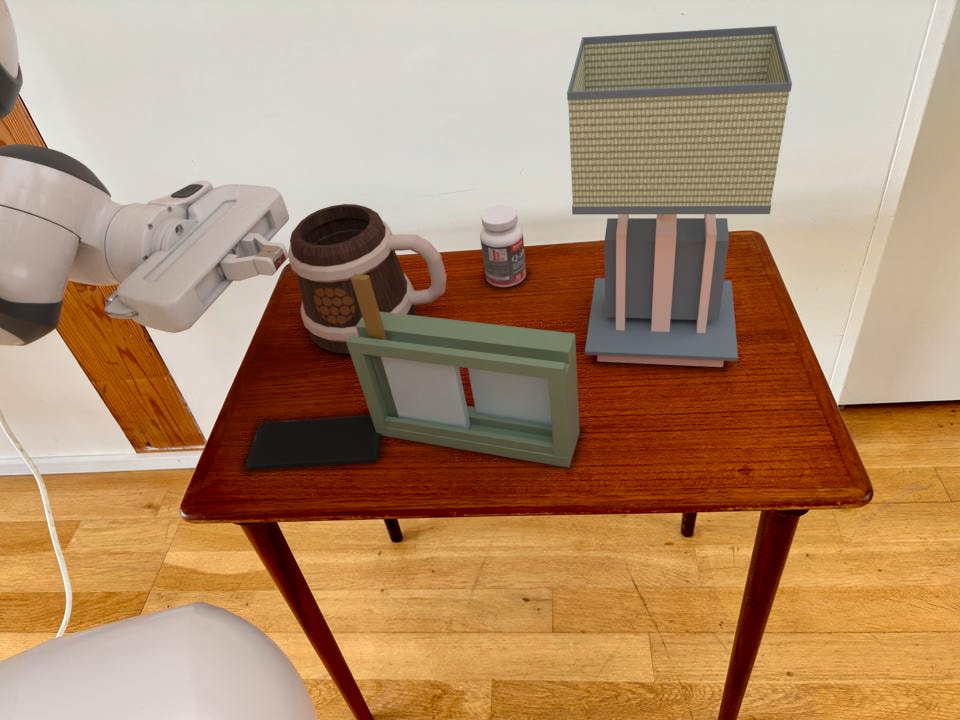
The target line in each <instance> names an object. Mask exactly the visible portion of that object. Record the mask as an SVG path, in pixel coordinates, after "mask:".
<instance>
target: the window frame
mask: <svg viewBox="0 0 960 720" xmlns="http://www.w3.org/2000/svg"><path fill="white" fill-rule="evenodd" d="M380 316H381V319H382V323H383V327H384V330H385V334H386V337H387V340H380V339H372V338H369V337H368V333H367V330H366V327H365V323H364V320H363V317H362V318H361V319H360V321H359V322H358V324H357V325H356V329H357V332H358V335H359V337H357V336H349V337H348V339H347V340H346V343H347V346H348V349H349V352H350V354H349V355H350V358H351V361H352V364H353V367H354V370H355V372H356V375H357V379H358V381H359V384H360V388H361V391H362V394H363V397H364V400H365V402H366V405H367V409H368V411H369V415H371V418H372V421H373V424H374V427H375V430H376V433H380V434H381V435H382V437H388V438H394V439H399V440H405V441H412V442H418V443H424V444H429V445H434V446H440V447H446V448H452V449H457V450H464V451H469V452H475V453H481V454H487V455H493V456H499V457H504V458H511V459H515V460H522V461H526V462H533V463H540V464H546V465H551V466H555V467H556V466H557V467H562V468H568V469H569V468H570V467H571V463H572V460H573V457H574V454H575V450H576V447H577V443H578V439H579V436H580V429H581V428H580V408H579V393H578V392H579V390H578V389H579V387H578V366H577V346H576V333H574V332H566V331H565V332H564V331H557V330H547V329H538V328H530V327H520V326H519V327H518V326H512V325H503V324H494V323H485V322H478V321H477V322H476V321H468V320H457V319H448V318H442V317H441V318H440V317H432V316H431V317H430V316H424V315H423V316H421V315H406V314H397V313H388V312H380ZM371 355H374V356H381V357H389V358H396V359H404V360H411V361H418V362H426V363H433V364H441V365H448V366H456V367H459V368H464V369H467V372H468V376H469V377H468V378H469V382H470V387H471V392H472V398H473V402H474V406H470V405H467V410H468V415H469V420H470V425H471V426H470V428H469V429H464V428H458V427H452V426H446V425H440V424H433V423H427V422H421V421H415V420H409V419H403V418H397V417H390V414H389V411H388V408H387V405H386V401H385V398H384V395H383V392H382V388H381V385H380V382H379V379H378V375H377V372H376V369H375V366H374V362H373V359H372V356H371Z"/></svg>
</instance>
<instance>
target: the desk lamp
mask: <svg viewBox="0 0 960 720" xmlns="http://www.w3.org/2000/svg"><path fill="white" fill-rule="evenodd" d="M571 73H572V74H571V77H570V80H569V84H568V87H567V91H566V100H567V104H568V127H569V150H570V173H571V174H570V175H571V176H570V177H571V197H572V198H571V199H572V200H571V201H572V205H571V212H572V213H571V214H572V215H575V216H576V215H578V216H579V215H582V216H583V215H585V216H586V215H587V216H588V215H617V217H616V218H615V217H613V218H612V217H610V218H609V217H608V218H607V219H606V227H605V235H604V277H603V278H601V277H600V278H598V277H595V278H594V285H593V292H592V299H591V306H590V313H589V321H588V327H587V335H586V340H585V348H584V355H586V356H597V357H596V361H597V362H603V363H604V362H605V363H627V364H646V365H647V364H648V365H666V366H667V365H670V366H689V367H690V366H691V367H692V366H693V367H711V368H713V367H714V368H715V367H716V368H723V367H724V362H727V361H728V362H738V360H739V354H738V340H737V330H736V318H735V317H736V316H735V306H734V305H735V303H734V295H733V283H732V282H733V281H732V280H725V275H726V268H727V261H728V260H727V258H728V252H729V244H730V235H729V226H728V225H729V224H728V218H727V217H724V218H723V217H716V215H770V214H771V210H772V198H773V193H774V186H775V180H776V175H777V168H778V163H779V157H780V152H781V145H782V139H783V134H784V128H785V123H786V115H787V109H788V104H789V98H790V92H792V86H793V81H792V78H791V74H790V70H789V67H788V63H787V60H786V56H785V52H784V48H783V45H782V41H781V38H780V34H779V31H778V27H777V25H766V26H765V25H764V26H748V27H732V28H716V29H715V28H714V29H698V30H684V31H683V30H681V31H665V32H664V31H663V32H648V33H633V34H631V33H629V34H614V35H613V34H611V35H598V36H582V37H581V40H580V45H579V48H578V51H577V55H576V58H575V62H574V66H573V70H572V72H571ZM630 215H656V217H647V218H645V217H643V218H642V217H637V218H635V217H634V218H633V217H632V218H631V217H630ZM677 215H703V218H702V217H700V218H699V217H690V218H689V217H685V218H684V217H678V218H677Z"/></svg>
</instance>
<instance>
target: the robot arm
mask: <svg viewBox="0 0 960 720" xmlns="http://www.w3.org/2000/svg"><path fill="white" fill-rule="evenodd" d="M19 54H20V53H19V44H18V37H17V33H16V27H15V24H14V20H13V17H12V14H11V12H10V9H9V6H8V4H7V1H6V0H0V121H2V120H3V119H5V118H6V117H7V116H9V115H10V114H11V113H13V112H14V108H15V106H16V103H17V100H18V97H19V95H20V92H21V89H22V87H23V83H24V80H23V73H22V68H21V66H20V62H19V60H20V59H19V58H20V55H19ZM289 219H290V215H289V211H288V208H287V205H286V202H285V200H284V196H283V195H282V193H281V192H280V191H279V190H278V189H276V188H274V187H271V186H265V185H256V184H253V185H252V184H239V183H238V184H237V183H236V184H234V183H232V184H224V185H219V186H217V187H214V185H213V184H212V183H211V181H208V180H196V181H193V182H192V183H190V184H188V185H186V186H184V187H183V188H181V189H178V190H177V191H175V192H173V193H170V194H168V195H165V196H162V197H159V198H154V199H151V200H150V201H148V202H147V203H139V202H135V203H134V202H133V203H129V204H120V203H118V202H115V201H113V199H112V194H111V193H110V191H109V189H108V188H107V187H106V186H105V185H104V183H103V182H102V181H101V179H99V178H98V176H97V175H96V174H95V173H94V172H93V171H92V170H91V169H90V168H89V167H88V166H86V165H85V164H84V163H82V162H81V161H79V160H78V159H76V158H75V157H72V156H70V155H68V154H66V153H64V152H61V151H59V150H56V149H52V148H48V147H45V146H40V145H35V144H24V143H11V144H5V145H0V346H8V347H9V346H12V347H13V346H17V347H23V346H24V347H25V346H27V345H31V344H32V343H34V342H36V341H39V340H40V339H42V338H44V337H45V336H47V335H48V334H50V333H52V332H53V331H55V330H56V329H57V328H59V323H60V318H61V315H62V309H63V305H64V299H63V298H64V295H65V292H66V288H67V285H68V283H69V281H70V282H74V283H79V284H84V285H92V286H100V287H112V286H116V285H118V287H117V289H115V290H114V291H112V292H111V293H109V294H108V296H107V297H106V298H105V301H104V302H105V306H104V313H105V314H106V315H107V316H108V317H110V318H112V319H120V320H130V319H131V320H132V321H133V322H135V323H136V324H139V325H141V326H143V327H147V328H149V329H154V330H158V331H162V332H166V333H172V334H176V333H180V332H184V331H187V330H189V329H191V328H192V327H193V326H194V325H195V324H196V322H198V320H200V318H201V317H203V315H204V314H205V312H207V311H208V310H209V308H210V307H211V306H213V304H214V303H215V301H216V300H217V299H218V298H219V297H220V296H221V295H222V294H223V293H224V292H225V291H226V290H227V288H228V287H229V286H230V285H231V284H232V283H233V282H234V281H235V282H241V281H244V280H247V279H251V278H254V277H257V276H269V277H270V276H274V275H275V274H276V272H278V270H279V269H280V268H281V266H282V265H283V264H284V263H285V262H286V261H287V259H289V257H288V251H287V250H288V249H287V248H286V246H285V245H284V243H281V242H271V240H273V238H274V237H275V236H276V235H277V233H278V232H280V230H281V229H282V228H283V227H284V226H285V225H286V224H287V223H288V221H289ZM0 720H319V717H318V713H317V709H316V707H315V704H314V701H313V699H312V696H311V694H310V692H309V690H308V688H307V686H306V683H305V682H304V680H303V678H302V676H301V674H300V672H299V671H298V669H297V667H296V666H295V665H294V663H293V662H292V660H291V659H290V658H289V657H288V655H287V654H286V653H285V652H284V651H283V649H281V647H280V646H279V645H278V644H277V643H276V642H275V641H274V640H273V639H272V638H271V637H269V636H268V635H267V634H266V633H265V632H263V630H261V629H260V628H259V627H257V626H256V625H254V624H252V622H250V621H248V620H247V619H245V618H243V617H242V616H240V615H238V614H236V613H233V612H231V611H230V610H227V609H226V608H223V607H220V606H217V605H215V604H212V603H209V602H207V601H206V602H205V601H194V602H191V603H187V604H183V605H182V604H181V605H178V606H174V607H169V608H166V609H165V608H164V609H161V610H156V611H152V612H148V613H147V612H146V613H144V614H139V615H135V616H131V617H127V618H123V619H119V620H114V621H112V622H107V623H105V624H100V625H97V626H94V627H90V628H87V629H82V630H79V631H75V632H72V633H68V634H64V635H61V636H56V637H53V638H50V639H47V640H45V641H43V642H41V643H39V644H36V645H34V646H31V647H29V648H27V649H26V650H23V651H21V652H18V653H16V654H14V655H12V656H10V657H7V658H5V659H3V660H1V661H0Z"/></svg>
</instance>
